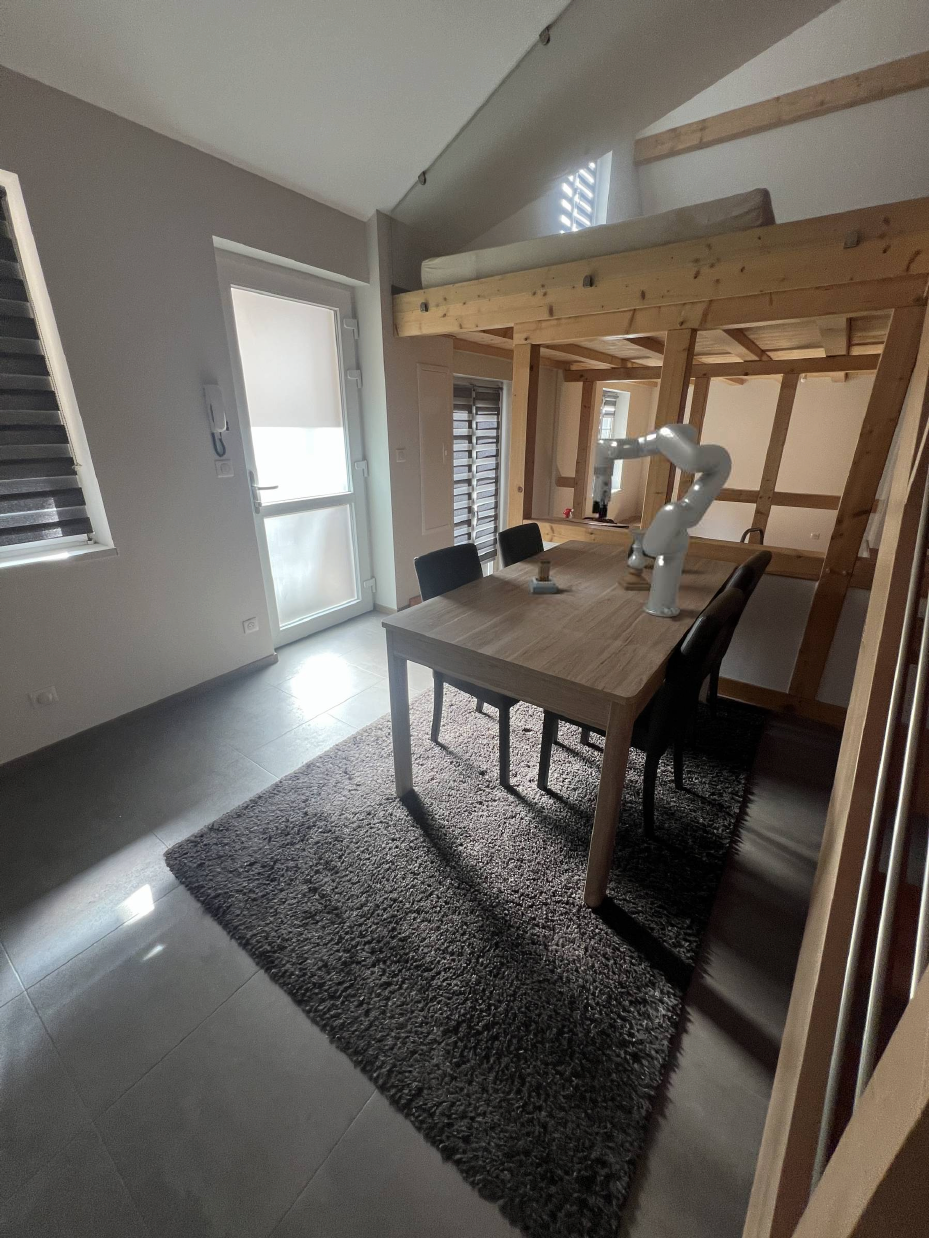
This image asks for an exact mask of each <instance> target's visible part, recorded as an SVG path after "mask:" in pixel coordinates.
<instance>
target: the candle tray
mask: <svg viewBox="0 0 929 1238" xmlns="http://www.w3.org/2000/svg"><path fill="white" fill-rule="evenodd" d="M528 587H529V590H530V592H531V594H532V595H547V594H546V593H558V586H557V585H556V583H555V581H554V580H553V578H552V577H551V576H549V582H538V576H532V579H529V580H528Z"/></svg>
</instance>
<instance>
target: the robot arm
mask: <svg viewBox="0 0 929 1238" xmlns="http://www.w3.org/2000/svg"><path fill="white" fill-rule="evenodd" d="M698 434H699V433H698V430H697V428H696V427H695V426H693V425H692V424H690V423H667V424H665V425H663V426H661V427H660V428H658V429H652V430H650V431H649V432H647V434H646V435H645V436H639V437H632V438H630V437H629V438H625V437H624V438H599V439H597V441H596V443H595V454H594V464H593V476H594V482H593V489H592V490H593V493H592V499H593V500H592V506H591V507H592V509H591V513H592V515H593V514H596V515H598V518H599V519H606V518H607V516H608V510H609V509H608V508H609V503H610V502H611V500H612V486H613V485H612V484H613V482H612V481H613V476H614V469H615V461H619V460H622V461H623V460H636V459H641V458H642V459H643V458H648V457H654V456H659V455H664V457H665V458H666V459H668V460H669V461H670V462H671V463H672V464H673V465H674V466H675V467H676V468H677V469H679V470H680V471H681V472H683V473H686V474H699V473H701V475H700V476H699V477H697V479H696V480H695V481H694V482H693V483H692V484H691V485H690V486H689V489H688V490H687V492H686V494H685V495H684V496H683V497H682V498H681V500H677V501H671V502H668V503H666V504H665V505H663V506H662V507H661V508H660V509H659V510H658V512H657V513H656V514H655V516H654V518H653V520H652V521H651V523H650V525H649V526H648V529H646V530H647V532H646V534H645V536H644V538H643V549H644V551H645V553H646V554H647V555H649V556H652V557H656V560H654V564H653V571H652V575H651V576H652V577H651V583H650V584H651V585H650V590H649V597H648V603H645V604H644V605H643V607H642V608H643V609H642V610H643V611H644V612H645V613H647V614H650V615H653V616H655V617H661V618H662V617H665V618H671V617H676V616H678V615H679V614H680V609H679V607H677V600H678V596H679V591H680V590H679V589H680V583H681V579H682V577H681V576H682V572H683V566H684V562H685V558H686V554H687V552H688V550H689V546H690V534H689V532H688V531H687V530H688V529H691V528H692V529H693V528H695V527H696V526H697V525H699V523H700V522H701V520H702V519H703V518H704V516H705V515H706V513H707V511H708V510H709V508H710V507H711V505H712V504H713V502H714V501H715V499H716V498H717V496H718V494H720V491H721V490H722V489H723V487H724V486H725V485H726V483H727V482H728V480H729V477H730V475H731V472H732V466H733V465H732V464H733V463H732V458H731V455H730V452H729V451H728V450H727V449H726V448H725V447H724V446H722V445H719V444H710V443H708V444H696V442H697V441H698V438H699V435H698Z"/></svg>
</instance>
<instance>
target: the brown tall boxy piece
mask: <svg viewBox="0 0 929 1238" xmlns="http://www.w3.org/2000/svg"><path fill="white" fill-rule="evenodd" d="M550 570H551V560H550V559H549V558H538V568H537V571H538V572H537V577H538V582H549V577H550V575H551V574H550V572H551V571H550Z"/></svg>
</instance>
